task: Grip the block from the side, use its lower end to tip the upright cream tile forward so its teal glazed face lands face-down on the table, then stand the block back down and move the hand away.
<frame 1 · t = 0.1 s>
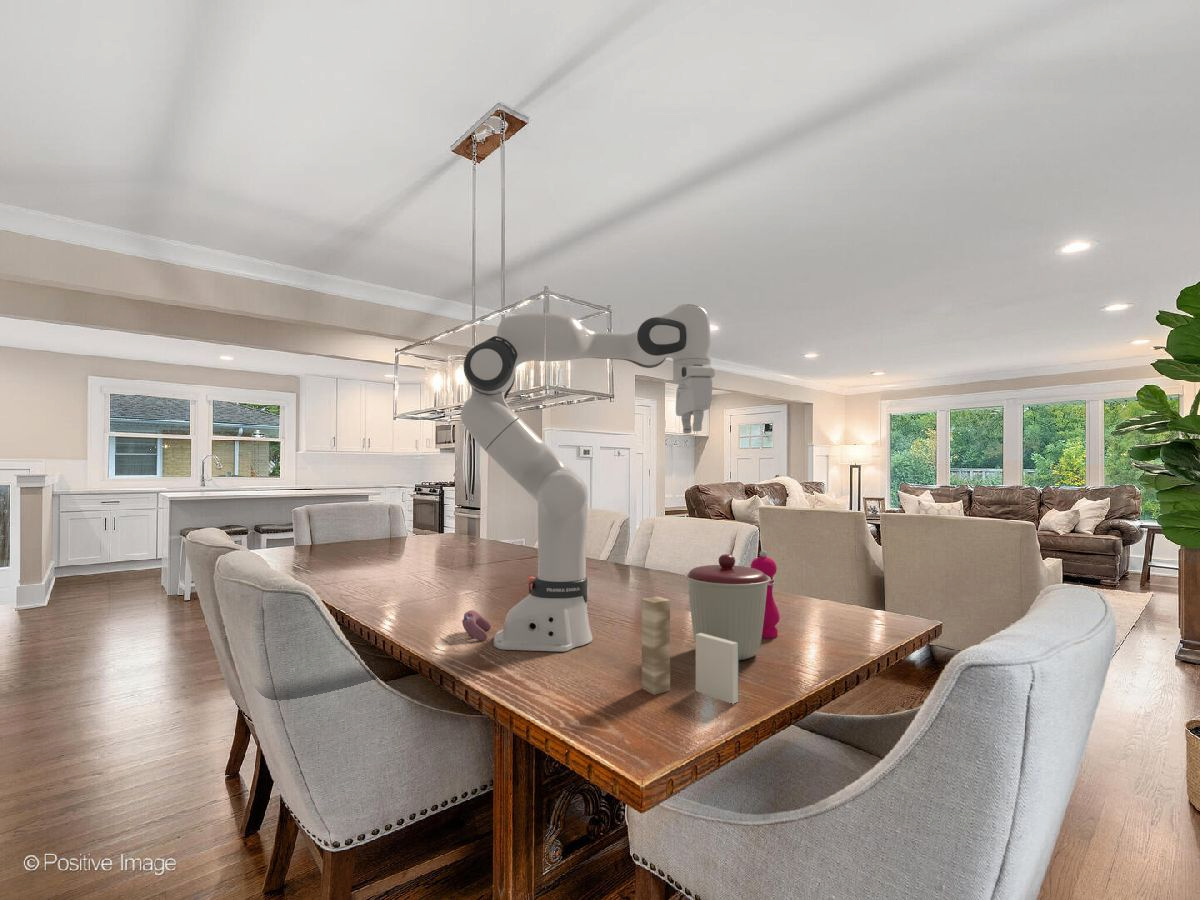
hand: (692, 432, 140), 48 cm above the table, tool pointing down, fingers open, 8 cm apart
tile: (719, 695, 103), on the table
canister: (727, 654, 126), on the table
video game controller: (476, 636, 139), on the table
block: (655, 689, 106), on the table
pepper mill: (763, 635, 141), on the table
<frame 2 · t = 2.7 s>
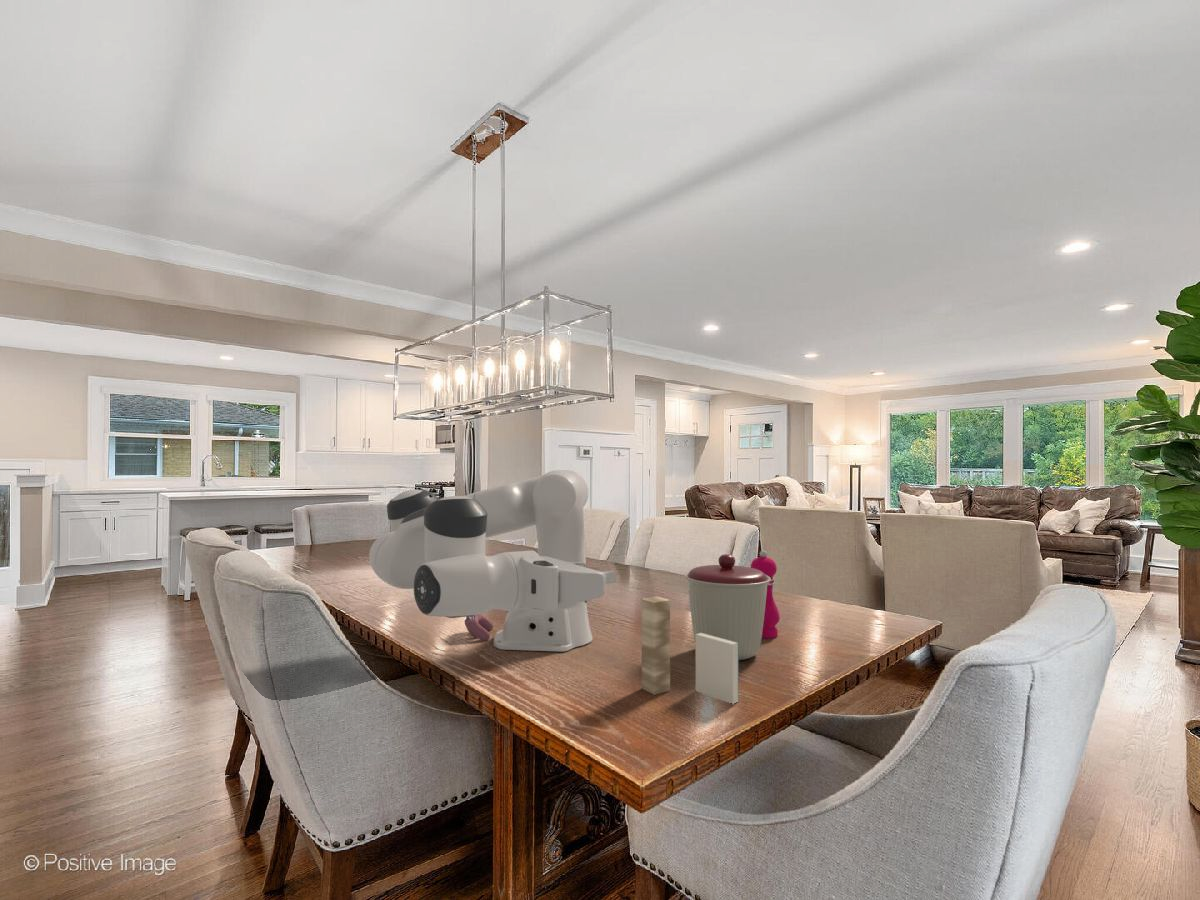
hand: (598, 571, 100), 22 cm above the table, tool horizontal, fingers open, 8 cm apart
nothing on the table moved.
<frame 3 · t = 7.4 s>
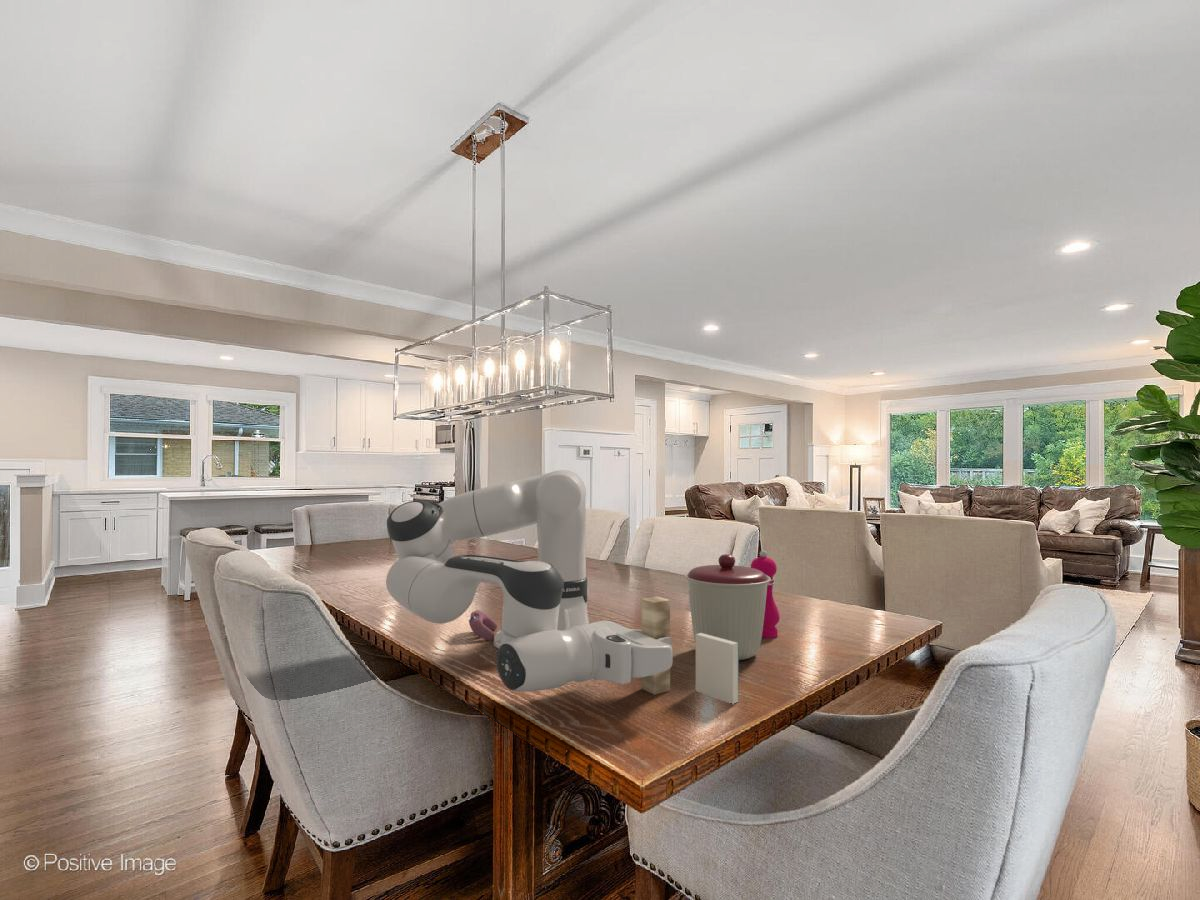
hand: (659, 637, 107), 9 cm above the table, tool horizontal, fingers closed on block, 4 cm apart
block: (655, 689, 106), on the table, touching gripper
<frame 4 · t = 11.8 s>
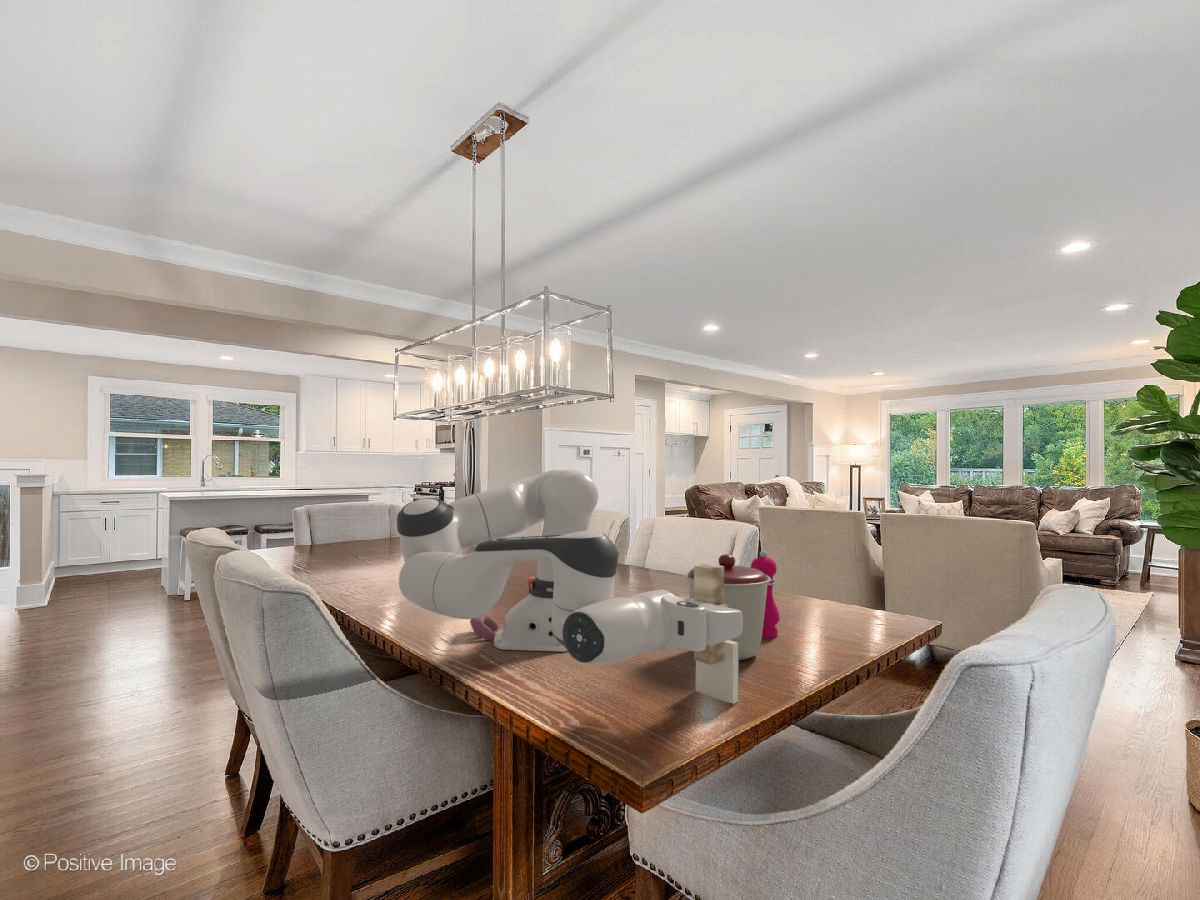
hand: (712, 606, 102), 16 cm above the table, tool horizontal, fingers closed on block, 4 cm apart
tile: (719, 695, 103), on the table, touching block
block: (709, 660, 101), point 7 cm above the table, touching gripper, tile
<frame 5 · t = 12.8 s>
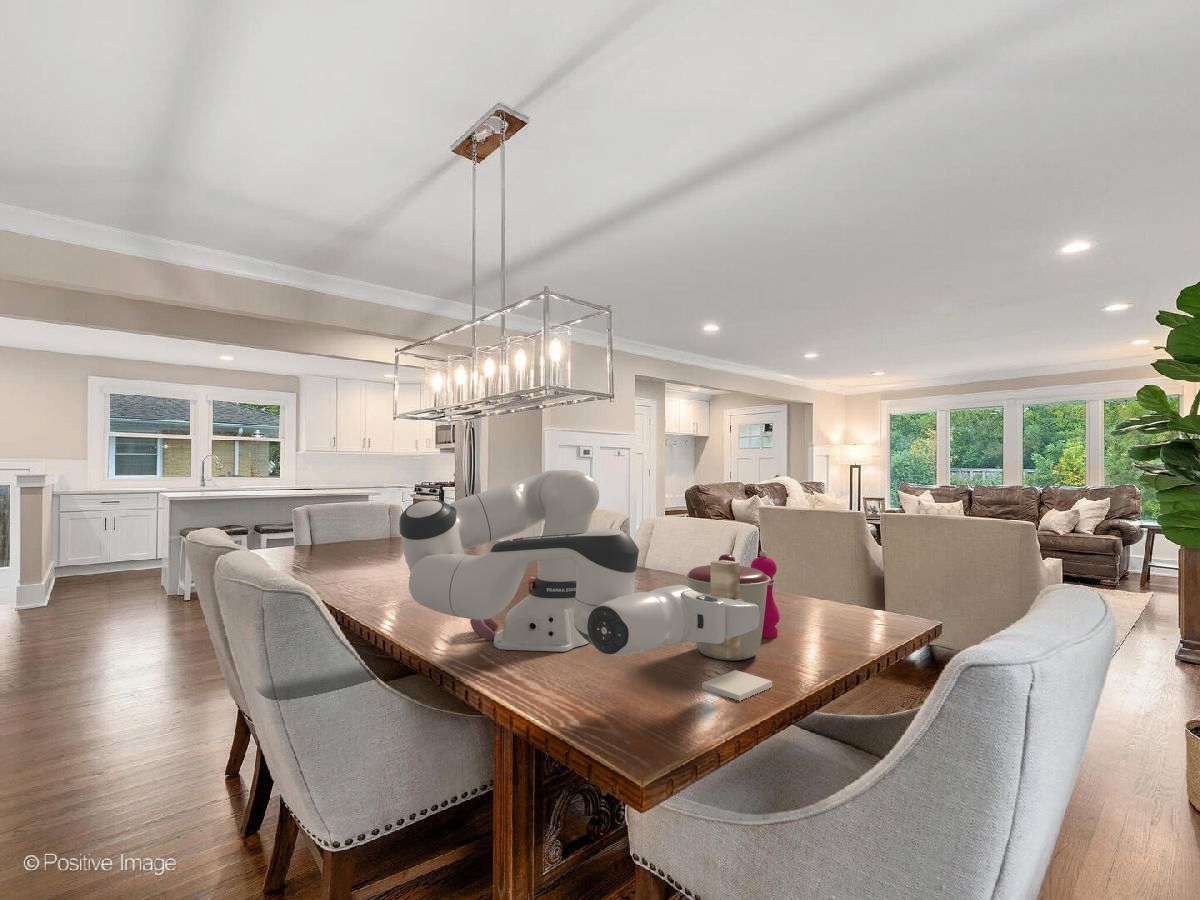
hand: (728, 600, 105), 16 cm above the table, tool horizontal, fingers closed on block, 4 cm apart
tile: (720, 698, 103), on the table, tilted 90°
block: (725, 653, 105), point 7 cm above the table, touching gripper
when the fingers open (10 cm above the table, at t = 16.3 s): block stays where it is, on the table.
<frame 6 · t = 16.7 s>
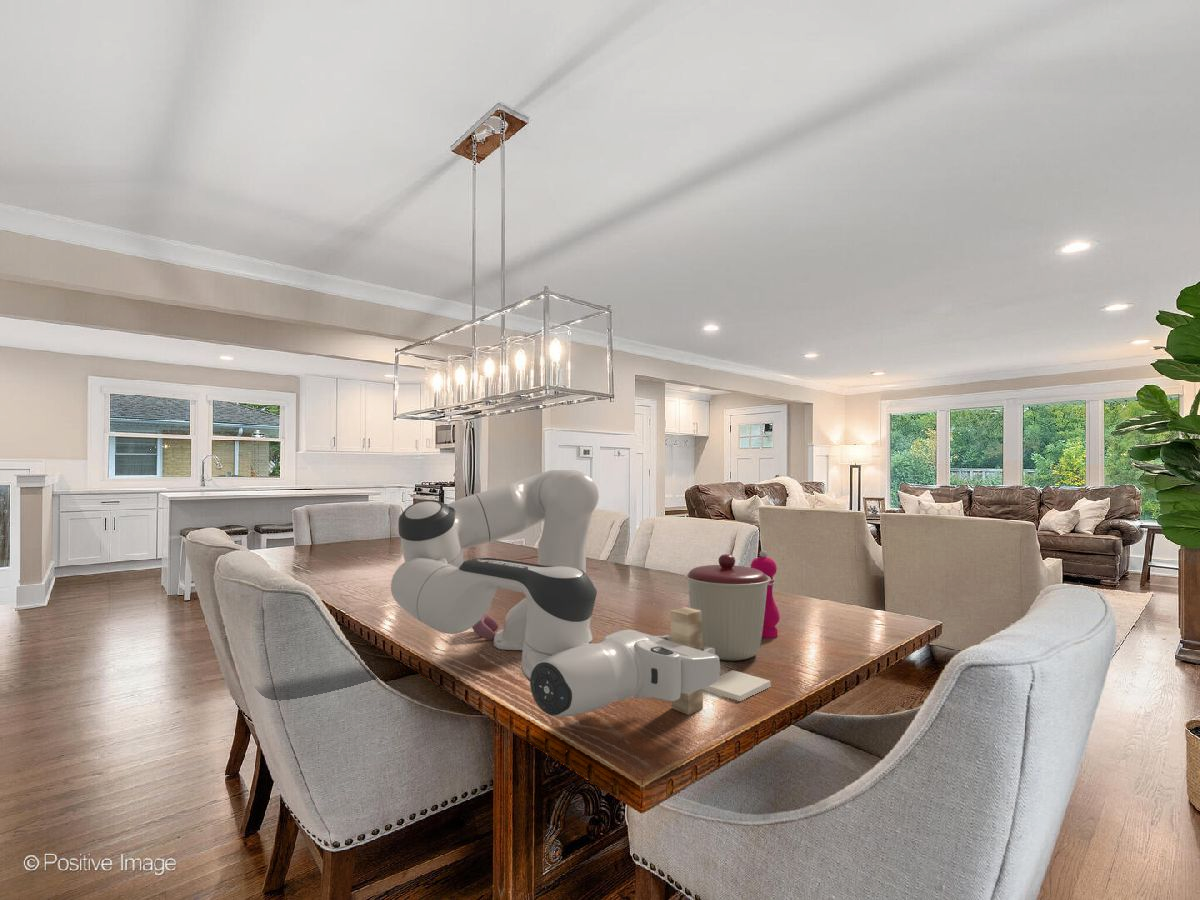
hand: (691, 646, 98), 10 cm above the table, tool horizontal, fingers open, 7 cm apart
block: (687, 708, 98), on the table
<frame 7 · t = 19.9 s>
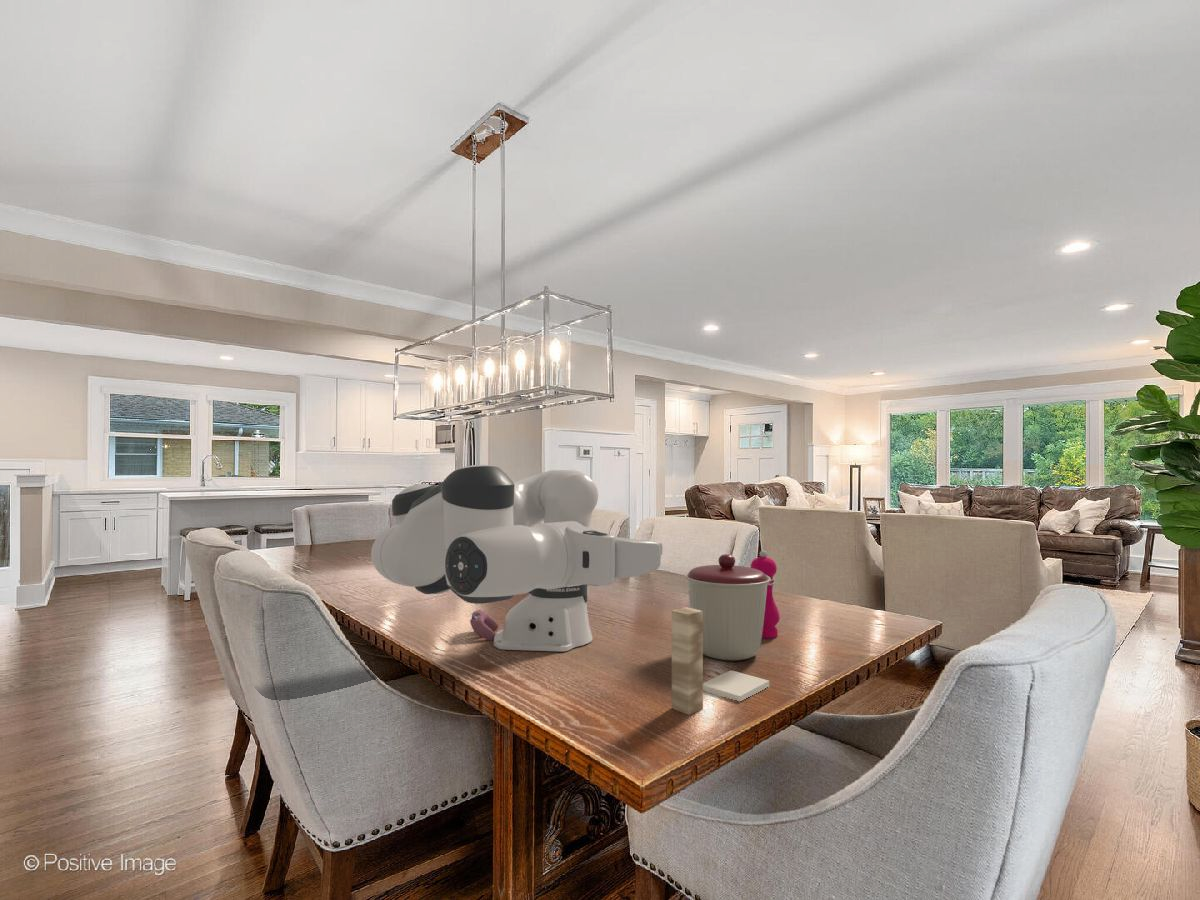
hand: (636, 545, 91), 28 cm above the table, tool horizontal, fingers open, 8 cm apart
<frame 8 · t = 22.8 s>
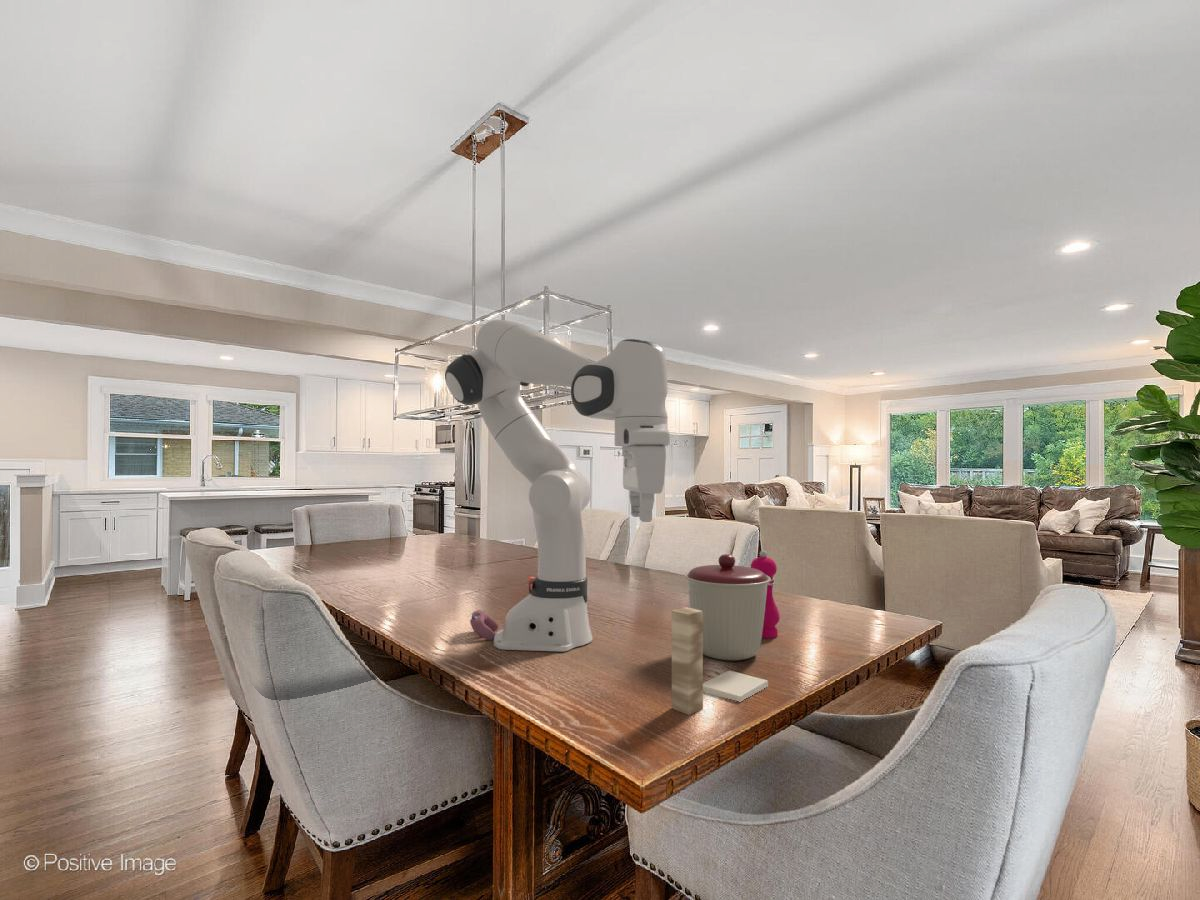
hand: (640, 519, 98), 31 cm above the table, tool pointing down, fingers open, 8 cm apart
at the end: tile tilted 90°; tile on the table; block tilted 0° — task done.
